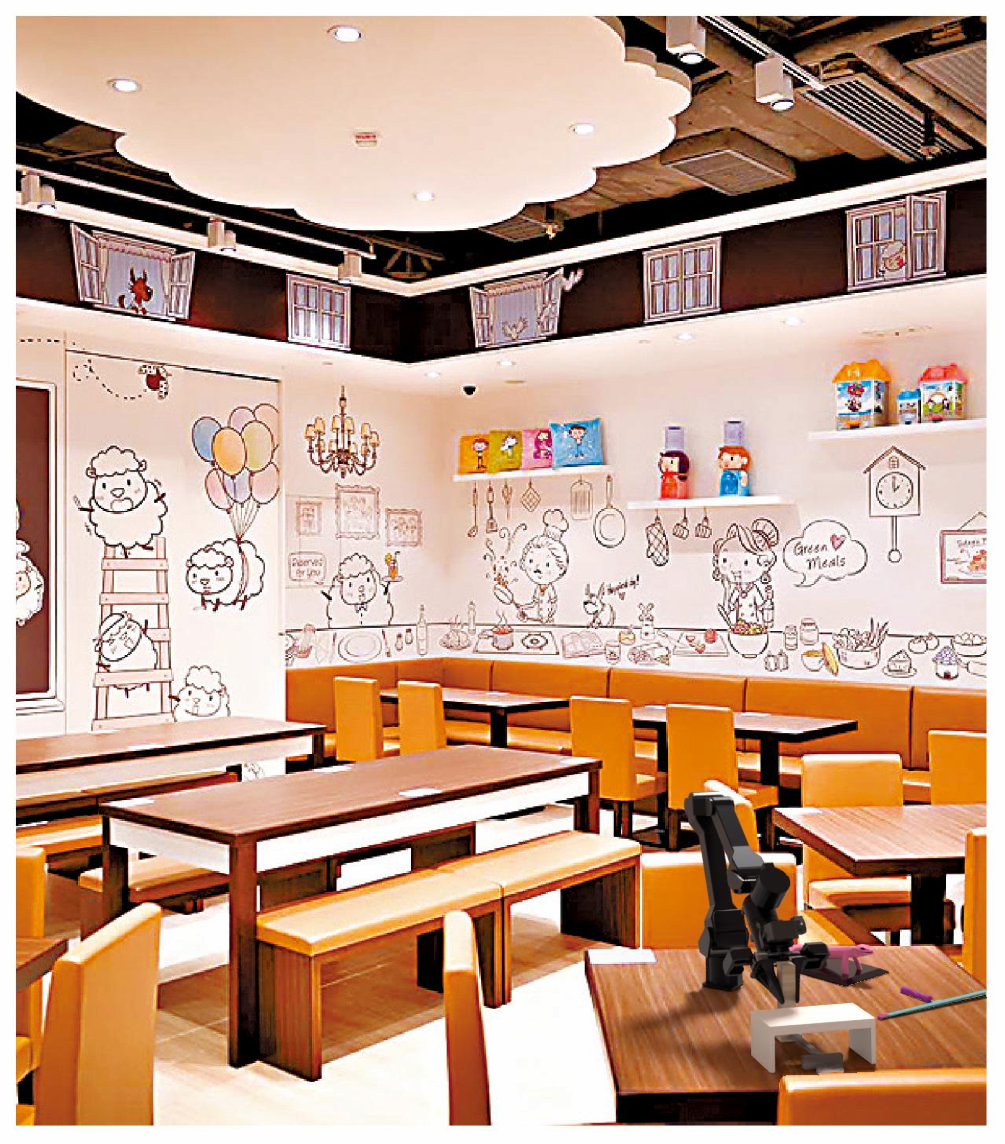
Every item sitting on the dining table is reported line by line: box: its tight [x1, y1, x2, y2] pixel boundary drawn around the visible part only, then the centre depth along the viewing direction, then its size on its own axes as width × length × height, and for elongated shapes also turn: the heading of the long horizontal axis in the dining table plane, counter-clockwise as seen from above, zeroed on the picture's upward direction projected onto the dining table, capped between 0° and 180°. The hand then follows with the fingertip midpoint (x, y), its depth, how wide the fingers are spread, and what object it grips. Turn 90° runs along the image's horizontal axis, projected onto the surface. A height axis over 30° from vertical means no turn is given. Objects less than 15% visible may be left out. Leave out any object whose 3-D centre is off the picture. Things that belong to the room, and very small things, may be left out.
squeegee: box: [876, 985, 986, 1021], centre depth 235 cm, size 29×2×10 cm
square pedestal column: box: [775, 961, 844, 1071], centre depth 209 cm, size 16×7×13 cm, turn 11°
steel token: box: [815, 1063, 845, 1075], centre depth 199 cm, size 4×4×1 cm
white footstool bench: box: [750, 1002, 877, 1074], centre depth 205 cm, size 8×19×8 cm, turn 101°
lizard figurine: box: [774, 943, 890, 987], centre depth 254 cm, size 15×20×7 cm
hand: (790, 1002), depth 213 cm, fingers closed on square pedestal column, 2 cm apart
